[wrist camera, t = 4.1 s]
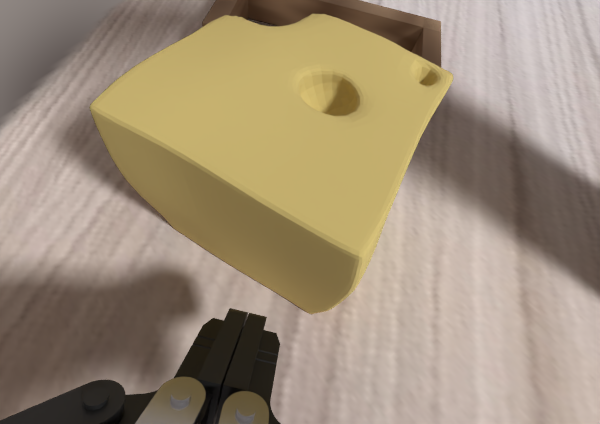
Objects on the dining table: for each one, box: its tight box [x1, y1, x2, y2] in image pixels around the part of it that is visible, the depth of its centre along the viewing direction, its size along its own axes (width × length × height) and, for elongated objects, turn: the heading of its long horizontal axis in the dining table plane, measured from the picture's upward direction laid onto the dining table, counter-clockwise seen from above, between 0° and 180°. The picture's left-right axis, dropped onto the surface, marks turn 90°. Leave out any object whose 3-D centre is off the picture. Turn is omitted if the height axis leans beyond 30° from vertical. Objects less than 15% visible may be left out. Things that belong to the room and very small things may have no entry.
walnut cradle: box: [202, 0, 441, 67], centre depth 26 cm, size 18×8×3 cm, turn 78°
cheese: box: [90, 14, 453, 314], centre depth 16 cm, size 10×11×10 cm
